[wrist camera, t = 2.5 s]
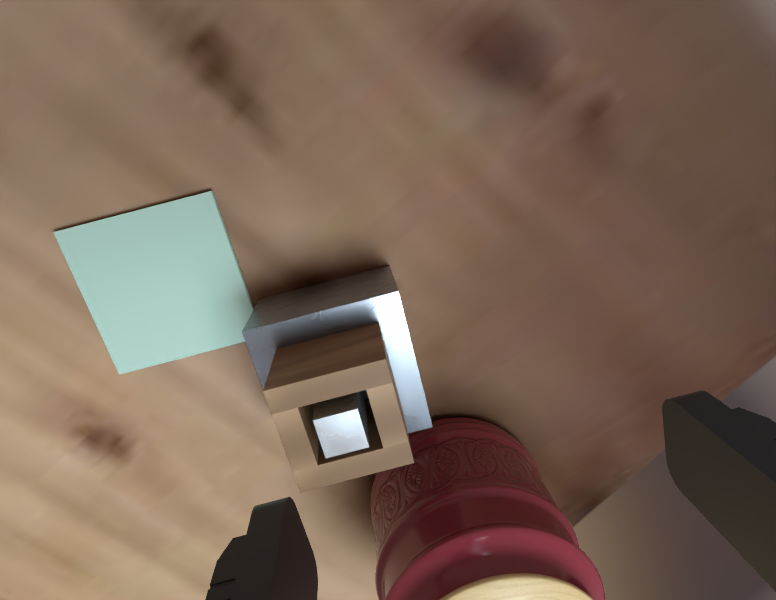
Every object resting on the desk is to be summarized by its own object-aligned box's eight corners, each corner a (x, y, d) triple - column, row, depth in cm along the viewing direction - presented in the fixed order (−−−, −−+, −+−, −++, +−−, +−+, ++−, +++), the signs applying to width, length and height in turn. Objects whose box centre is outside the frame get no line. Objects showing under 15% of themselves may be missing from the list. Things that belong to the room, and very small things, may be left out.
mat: (56, 231, 32) (53, 232, 31) (212, 190, 32) (210, 191, 31) (121, 371, 35) (119, 374, 34) (263, 334, 35) (262, 337, 34)
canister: (393, 569, 42) (426, 857, 25) (348, 439, 38) (352, 679, 21) (545, 526, 42) (679, 786, 25) (516, 391, 38) (654, 594, 21)
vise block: (258, 299, 34) (218, 376, 23) (389, 265, 34) (410, 326, 23) (298, 413, 37) (279, 530, 26) (419, 382, 37) (450, 485, 26)
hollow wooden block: (276, 349, 29) (262, 391, 24) (378, 322, 29) (386, 358, 24) (306, 437, 31) (300, 492, 26) (403, 412, 31) (414, 462, 26)
